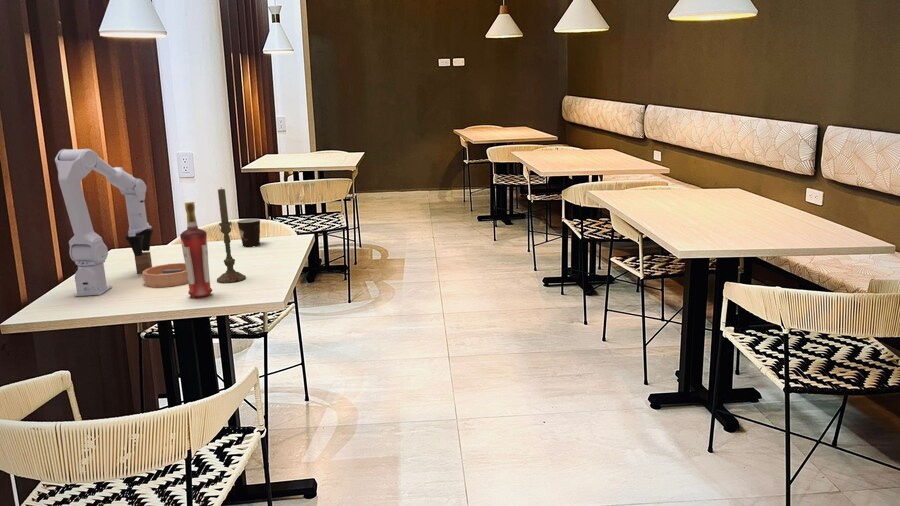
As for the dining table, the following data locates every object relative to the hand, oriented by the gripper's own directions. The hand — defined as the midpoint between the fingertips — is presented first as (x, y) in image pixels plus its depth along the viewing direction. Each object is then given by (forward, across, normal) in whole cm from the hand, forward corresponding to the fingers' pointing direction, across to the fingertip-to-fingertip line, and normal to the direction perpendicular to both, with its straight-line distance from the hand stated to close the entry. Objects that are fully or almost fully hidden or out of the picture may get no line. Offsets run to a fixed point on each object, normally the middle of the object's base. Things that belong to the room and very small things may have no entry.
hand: (142, 253), depth 248 cm
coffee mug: (+7, +36, -29) cm, 47 cm away
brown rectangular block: (+7, 0, 0) cm, 7 cm away
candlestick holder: (+7, -17, -33) cm, 38 cm away
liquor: (+7, -35, -28) cm, 45 cm away
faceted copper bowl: (+7, -14, -13) cm, 20 cm away
